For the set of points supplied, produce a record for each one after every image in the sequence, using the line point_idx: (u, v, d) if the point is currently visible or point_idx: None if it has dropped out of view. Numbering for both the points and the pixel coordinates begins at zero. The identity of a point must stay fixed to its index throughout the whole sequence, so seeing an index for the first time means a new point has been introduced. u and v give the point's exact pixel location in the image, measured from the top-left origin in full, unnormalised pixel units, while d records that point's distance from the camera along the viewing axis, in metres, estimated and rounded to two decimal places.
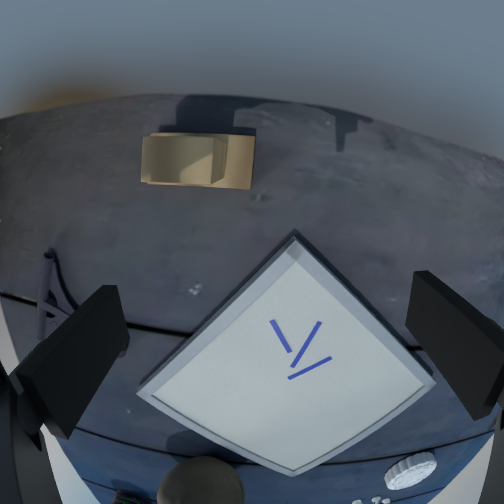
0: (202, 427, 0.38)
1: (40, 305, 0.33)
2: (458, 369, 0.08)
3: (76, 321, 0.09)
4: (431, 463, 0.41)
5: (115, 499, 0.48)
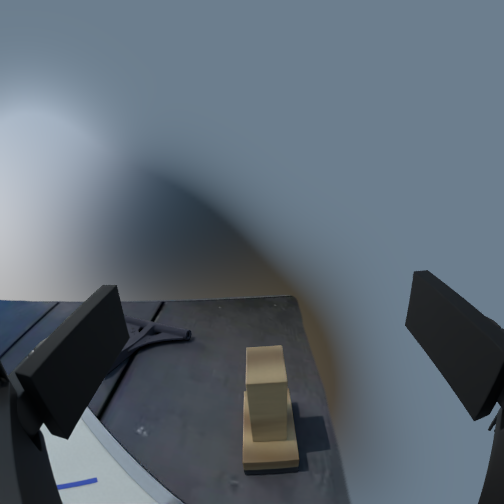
0: None
1: (150, 323, 0.48)
2: (458, 370, 0.08)
3: (76, 321, 0.09)
4: None
5: None
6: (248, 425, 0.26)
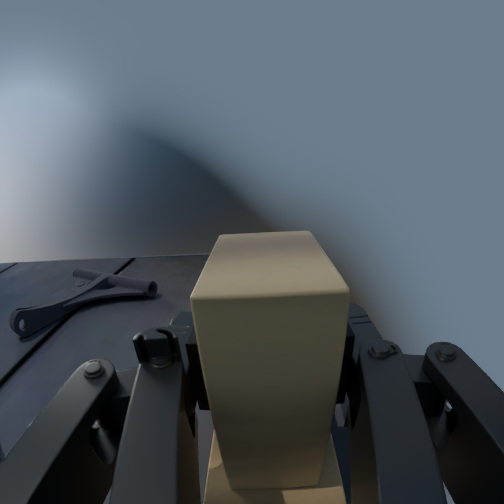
0: None
1: (104, 274, 0.33)
2: None
3: None
4: None
5: None
6: None
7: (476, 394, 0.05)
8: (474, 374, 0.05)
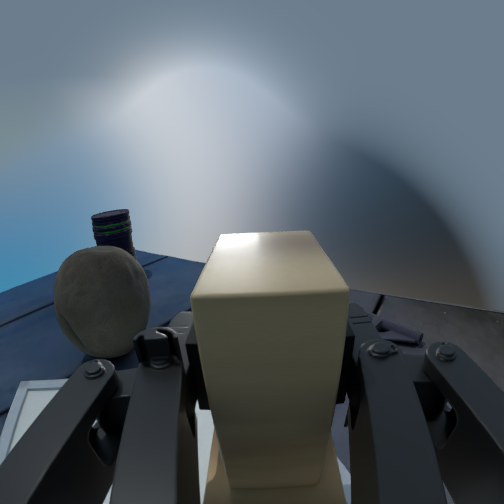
0: None
1: (377, 317, 0.40)
2: None
3: None
4: None
5: (135, 257, 0.70)
6: None
7: (476, 394, 0.05)
8: (474, 374, 0.05)
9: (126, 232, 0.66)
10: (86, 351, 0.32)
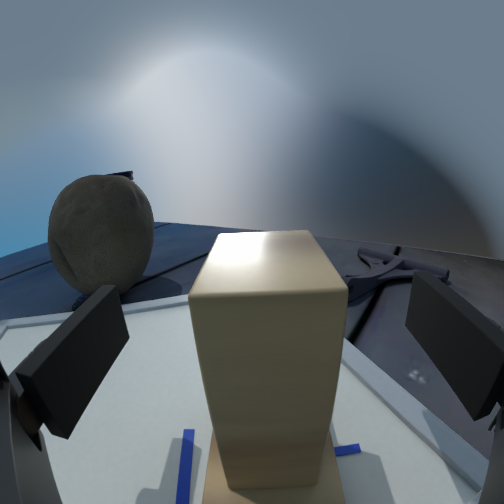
0: (180, 304, 0.28)
1: (399, 257, 0.37)
2: (458, 369, 0.08)
3: (76, 321, 0.09)
4: None
5: None
6: None
7: None
8: None
9: None
10: (78, 285, 0.29)
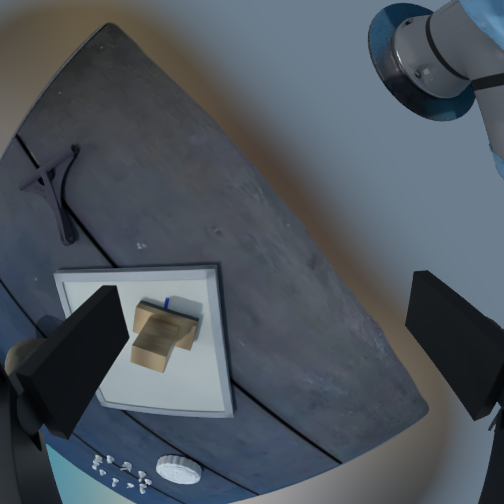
0: None
1: (40, 171, 0.39)
2: (457, 369, 0.08)
3: (76, 321, 0.09)
4: (196, 475, 0.59)
5: None
6: None
7: None
8: None
9: None
10: None
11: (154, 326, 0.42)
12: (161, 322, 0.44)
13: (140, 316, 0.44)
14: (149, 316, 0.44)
